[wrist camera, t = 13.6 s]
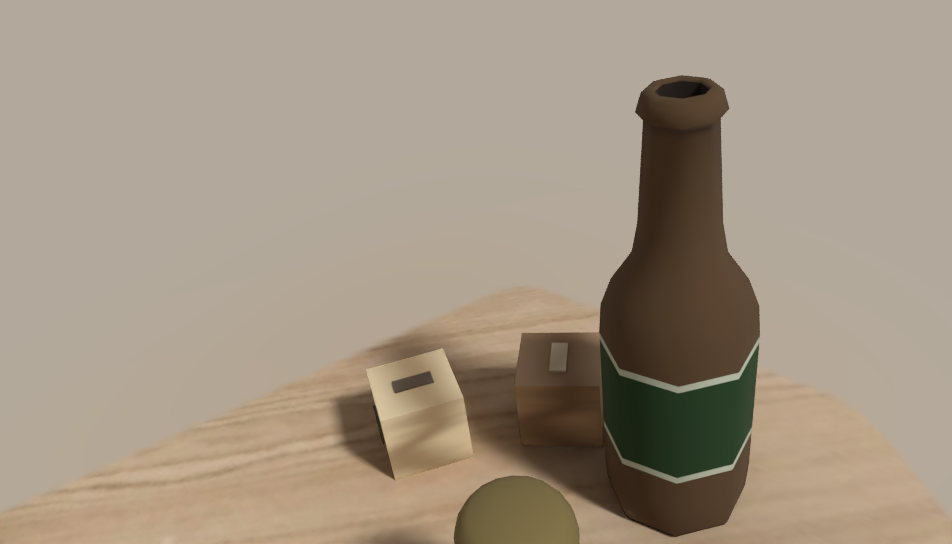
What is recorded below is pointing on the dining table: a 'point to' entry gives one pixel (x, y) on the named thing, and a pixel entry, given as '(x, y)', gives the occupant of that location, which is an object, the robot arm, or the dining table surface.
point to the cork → (516, 514)
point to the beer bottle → (679, 327)
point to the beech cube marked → (420, 413)
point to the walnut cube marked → (559, 389)
